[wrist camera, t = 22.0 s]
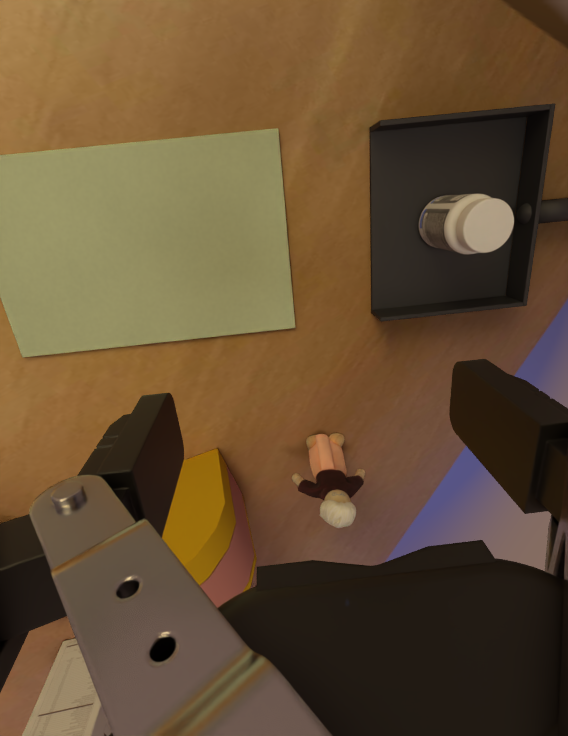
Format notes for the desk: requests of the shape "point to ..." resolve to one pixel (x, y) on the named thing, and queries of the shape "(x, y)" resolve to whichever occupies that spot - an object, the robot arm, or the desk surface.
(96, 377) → the desk surface
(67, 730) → the supplement box
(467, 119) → the dustpan
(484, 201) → the pill bottle
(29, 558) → the robot arm
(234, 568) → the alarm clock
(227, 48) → the desk surface
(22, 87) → the desk surface
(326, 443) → the grandmother figurine
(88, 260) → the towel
